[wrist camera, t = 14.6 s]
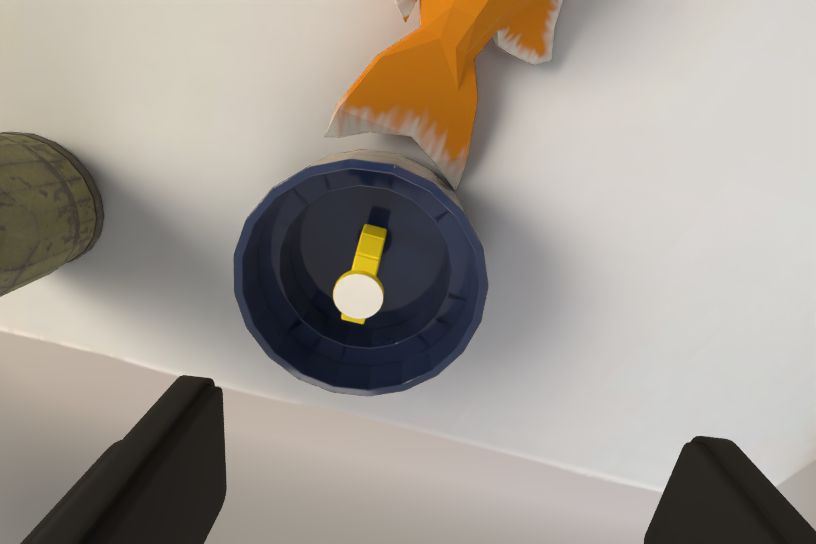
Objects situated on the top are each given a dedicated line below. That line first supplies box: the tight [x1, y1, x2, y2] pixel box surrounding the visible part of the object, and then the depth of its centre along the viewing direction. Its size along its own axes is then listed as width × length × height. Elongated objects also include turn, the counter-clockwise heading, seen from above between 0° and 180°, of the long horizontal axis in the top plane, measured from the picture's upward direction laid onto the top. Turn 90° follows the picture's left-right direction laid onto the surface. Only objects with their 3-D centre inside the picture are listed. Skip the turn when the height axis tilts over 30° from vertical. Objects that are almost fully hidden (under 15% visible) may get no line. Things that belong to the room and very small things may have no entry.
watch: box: [333, 224, 387, 324], centre depth 27 cm, size 6×3×6 cm, turn 165°
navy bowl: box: [234, 149, 488, 396], centre depth 27 cm, size 14×14×6 cm
